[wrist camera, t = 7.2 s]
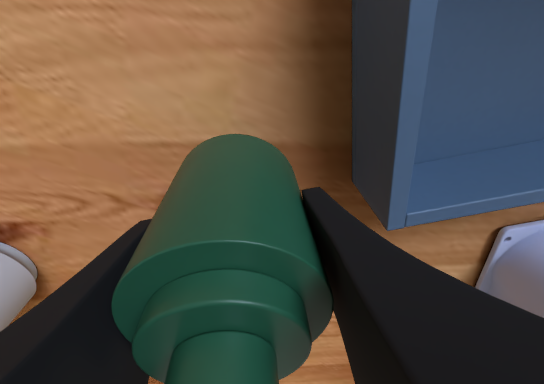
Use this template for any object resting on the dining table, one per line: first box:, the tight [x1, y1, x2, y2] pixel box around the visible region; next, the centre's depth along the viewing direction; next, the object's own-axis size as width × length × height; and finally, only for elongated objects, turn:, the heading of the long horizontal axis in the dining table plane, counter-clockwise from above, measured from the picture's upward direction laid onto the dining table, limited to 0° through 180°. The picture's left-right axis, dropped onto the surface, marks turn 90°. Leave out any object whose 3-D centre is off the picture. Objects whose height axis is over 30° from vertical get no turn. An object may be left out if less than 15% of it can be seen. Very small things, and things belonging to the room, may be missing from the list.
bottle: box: [111, 134, 334, 384], centre depth 7 cm, size 5×5×9 cm
